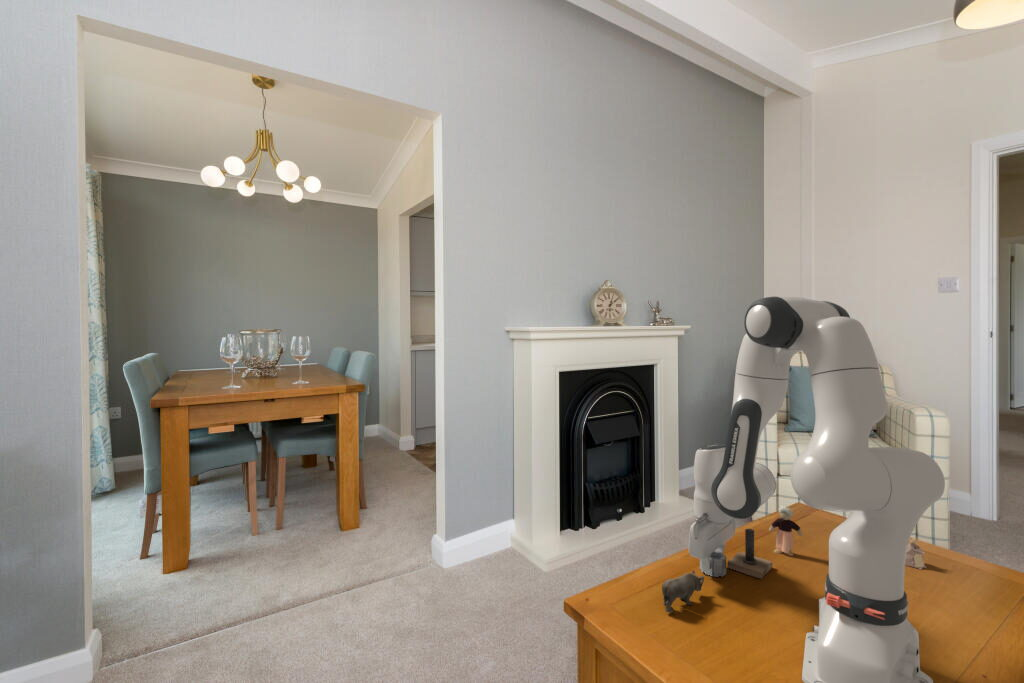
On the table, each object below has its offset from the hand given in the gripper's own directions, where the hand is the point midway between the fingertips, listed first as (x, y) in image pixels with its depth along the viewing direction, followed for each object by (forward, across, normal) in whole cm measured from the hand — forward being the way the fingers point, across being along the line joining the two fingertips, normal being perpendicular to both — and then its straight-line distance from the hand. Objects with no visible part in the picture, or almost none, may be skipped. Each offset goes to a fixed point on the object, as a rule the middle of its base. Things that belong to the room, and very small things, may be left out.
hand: (712, 563), depth 120 cm
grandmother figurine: (+2, +23, -10) cm, 25 cm away
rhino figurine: (+2, -18, -1) cm, 18 cm away
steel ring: (+2, 0, 0) cm, 2 cm away
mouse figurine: (+2, +39, -34) cm, 52 cm away
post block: (+2, +8, -6) cm, 10 cm away
